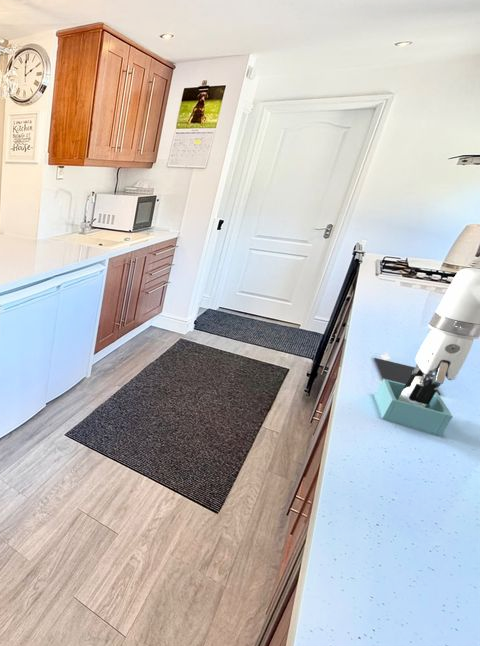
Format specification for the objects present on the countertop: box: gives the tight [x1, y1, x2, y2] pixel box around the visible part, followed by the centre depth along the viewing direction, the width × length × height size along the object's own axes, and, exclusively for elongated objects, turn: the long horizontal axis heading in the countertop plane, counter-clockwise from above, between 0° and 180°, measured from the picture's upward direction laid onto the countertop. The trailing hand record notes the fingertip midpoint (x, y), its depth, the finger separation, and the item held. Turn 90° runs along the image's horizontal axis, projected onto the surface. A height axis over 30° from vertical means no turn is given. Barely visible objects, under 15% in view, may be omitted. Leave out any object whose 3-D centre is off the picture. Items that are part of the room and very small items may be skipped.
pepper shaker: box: [398, 376, 428, 407], centre depth 94 cm, size 4×4×10 cm
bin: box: [373, 379, 453, 437], centre depth 95 cm, size 10×13×5 cm
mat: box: [373, 357, 441, 396], centre depth 115 cm, size 11×17×1 cm, turn 143°
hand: (415, 395), depth 94 cm, fingers closed on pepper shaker, 4 cm apart
